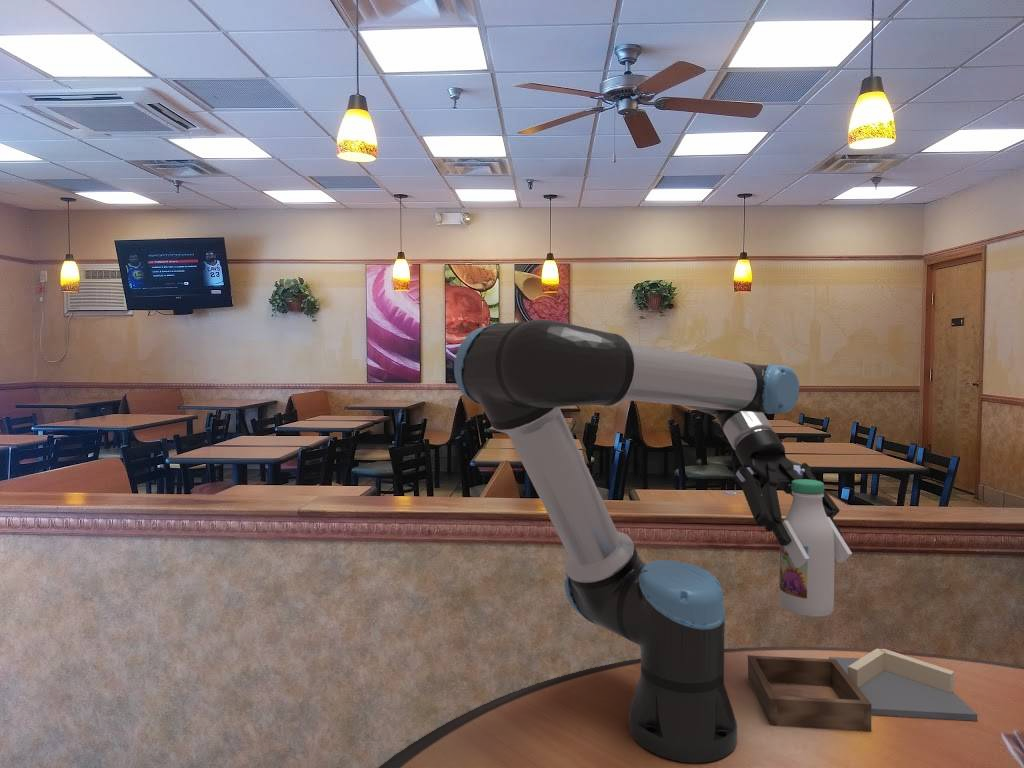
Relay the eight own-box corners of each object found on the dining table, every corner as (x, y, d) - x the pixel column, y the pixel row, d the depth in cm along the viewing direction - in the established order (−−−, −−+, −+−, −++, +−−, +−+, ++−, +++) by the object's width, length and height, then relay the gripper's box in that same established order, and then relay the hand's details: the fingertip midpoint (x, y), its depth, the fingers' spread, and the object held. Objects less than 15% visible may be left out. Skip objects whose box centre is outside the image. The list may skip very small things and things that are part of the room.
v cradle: (866, 714, 97) (866, 688, 97) (826, 662, 114) (826, 640, 114) (980, 721, 95) (980, 694, 95) (922, 666, 112) (922, 644, 112)
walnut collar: (769, 725, 94) (769, 698, 94) (747, 678, 108) (747, 655, 108) (871, 731, 93) (871, 704, 92) (835, 683, 106) (835, 659, 106)
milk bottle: (822, 600, 104) (824, 477, 103) (842, 619, 96) (844, 486, 95) (773, 598, 104) (774, 476, 104) (788, 617, 97) (790, 485, 96)
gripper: (790, 452, 117) (862, 566, 102) (695, 456, 111) (756, 579, 96) (812, 425, 112) (891, 542, 97) (713, 429, 106) (781, 554, 91)
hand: (824, 560), depth 97 cm, fingers closed on milk bottle, 7 cm apart
